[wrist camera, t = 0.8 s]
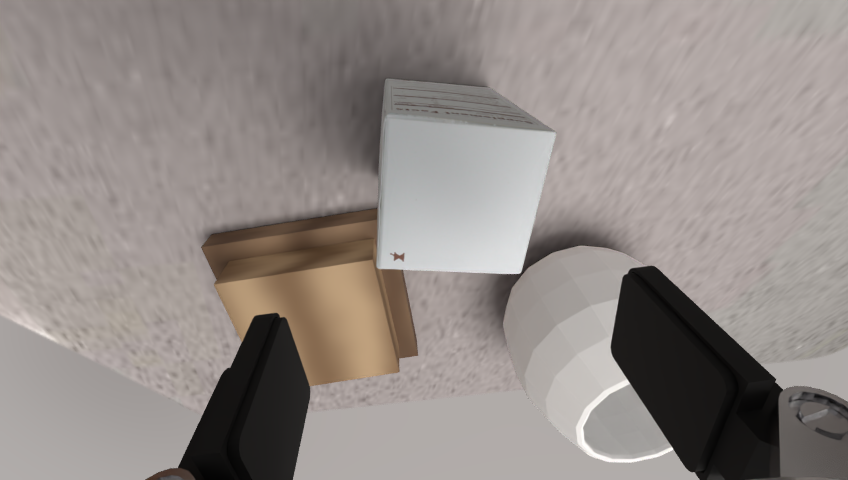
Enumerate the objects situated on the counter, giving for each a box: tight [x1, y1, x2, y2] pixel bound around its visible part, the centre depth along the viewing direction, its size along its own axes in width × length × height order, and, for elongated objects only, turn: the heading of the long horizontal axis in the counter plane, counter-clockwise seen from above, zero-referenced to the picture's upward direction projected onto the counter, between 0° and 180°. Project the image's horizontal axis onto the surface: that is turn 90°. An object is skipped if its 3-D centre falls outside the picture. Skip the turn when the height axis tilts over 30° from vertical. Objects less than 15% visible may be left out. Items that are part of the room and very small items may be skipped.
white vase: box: [503, 246, 674, 462], centre depth 31 cm, size 13×13×14 cm
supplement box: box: [376, 79, 556, 274], centre depth 23 cm, size 7×7×13 cm
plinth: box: [201, 208, 418, 386], centre depth 32 cm, size 14×14×5 cm
